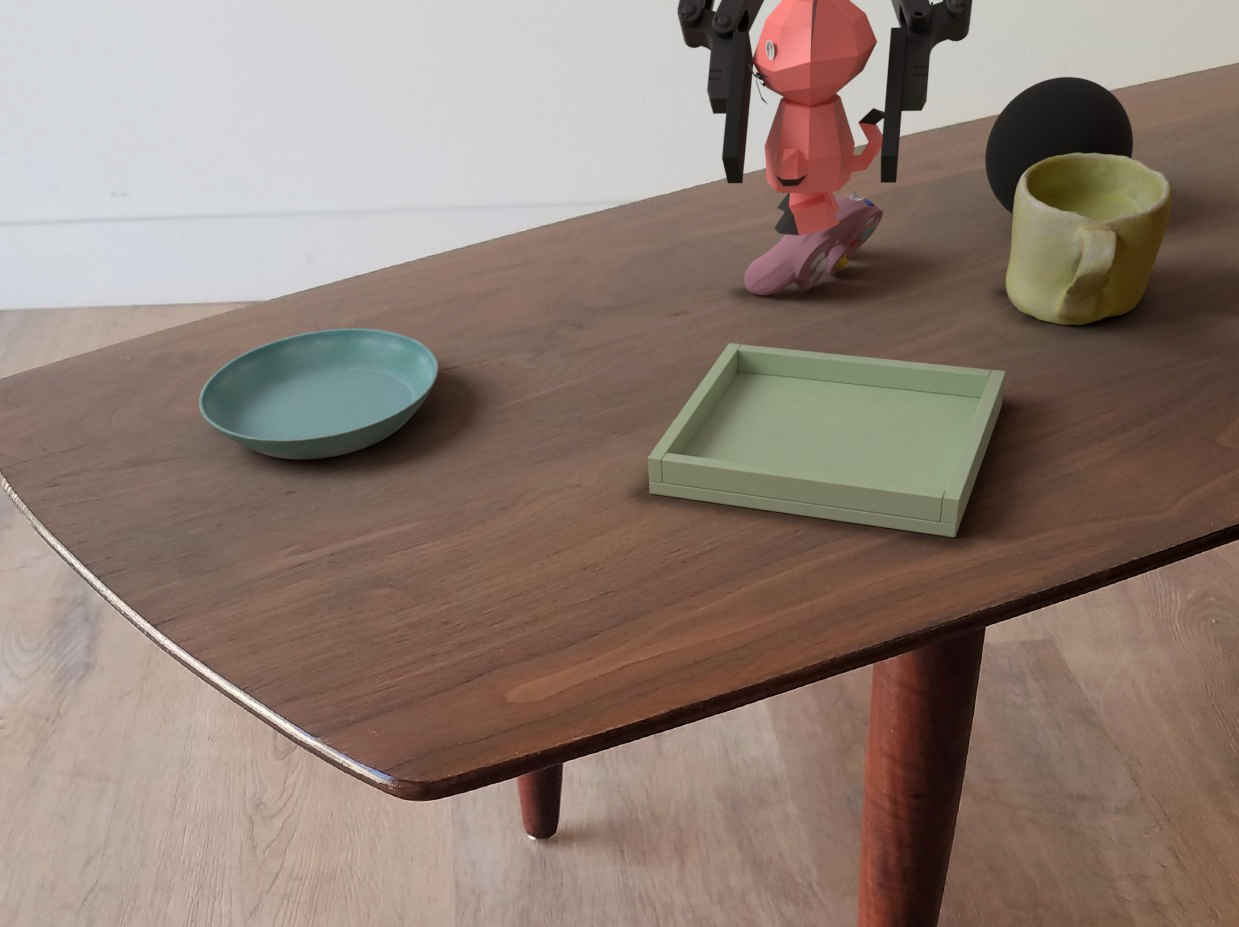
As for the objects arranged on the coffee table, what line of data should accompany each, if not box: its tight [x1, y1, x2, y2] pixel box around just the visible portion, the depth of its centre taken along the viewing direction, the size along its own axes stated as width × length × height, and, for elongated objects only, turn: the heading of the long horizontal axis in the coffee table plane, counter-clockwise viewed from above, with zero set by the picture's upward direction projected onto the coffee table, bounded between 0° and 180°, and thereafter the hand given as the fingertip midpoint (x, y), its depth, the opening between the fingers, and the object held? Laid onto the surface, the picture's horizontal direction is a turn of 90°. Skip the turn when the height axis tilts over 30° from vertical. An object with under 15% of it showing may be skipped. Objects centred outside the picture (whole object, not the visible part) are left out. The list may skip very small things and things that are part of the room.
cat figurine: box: [748, 0, 884, 236], centre depth 69 cm, size 7×7×12 cm
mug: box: [1005, 153, 1173, 326], centre depth 88 cm, size 12×10×10 cm
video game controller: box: [743, 191, 884, 296], centre depth 95 cm, size 10×5×7 cm, turn 137°
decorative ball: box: [984, 76, 1134, 215], centre depth 99 cm, size 10×10×10 cm
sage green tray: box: [647, 342, 1007, 538], centre depth 77 cm, size 17×15×2 cm
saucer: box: [198, 327, 439, 460], centre depth 85 cm, size 15×15×3 cm
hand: (809, 169), depth 67 cm, fingers closed on cat figurine, 7 cm apart
